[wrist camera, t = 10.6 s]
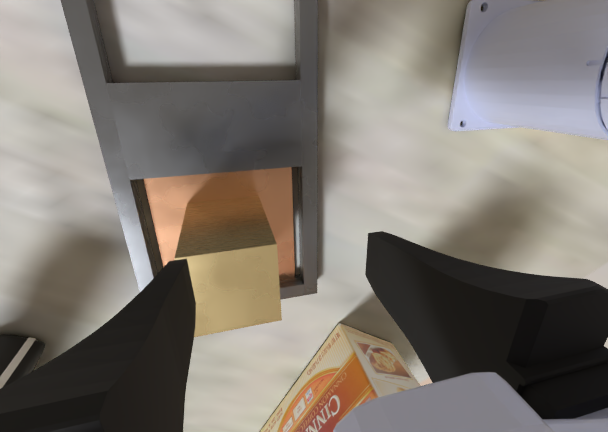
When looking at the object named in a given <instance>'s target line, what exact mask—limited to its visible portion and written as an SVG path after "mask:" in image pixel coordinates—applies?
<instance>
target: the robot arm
mask: <svg viewBox="0 0 608 432" xmlns="http://www.w3.org/2000/svg"><path fill="white" fill-rule="evenodd" d="M481 5H483V10H482V11H481ZM461 121H462V122H463V123H462V125H461V126H460V123H461ZM516 127H523V128H530V129H537V130H543V131H550V132H557V133H563V134H570V135H577V136H584V137H590V138H597V139H604V140H608V0H545V1H536V0H471V1H470V2H469V3H468V5H467V9H466V15H465V21H464V27H463V34H462V40H461V46H460V52H459V58H458V64H457V70H456V77H455V83H454V89H453V95H452V101H451V107H450V113H449V120H448V128H449V129H450V130H452V131H466V130H483V129H499V128H516ZM366 277H367V279H368V281H369V283H370V285H371V287H372V289H373V290H374V292H375V294H376V296H377V297H378V298H379V300H380V301H381V303H382V304H383V306H384V307H385V308H386V310H387V311H388V312H389V314H390V315H391V317H392V318H393V319H394V321H395V322H396V323H397V325H398V326H399V327H400V329H401V330H402V332H403V333H404V334H405V336H406V337H407V339H408V340H409V342H410V343H411V345H412V346H413V348H414V350H415V352H416V353H417V355H418V357H419V359H420V360H421V362H422V364H423V366H424V367H425V369H426V371H427V373H428V375H429V377H430V379H431V380H432V382H433V383H431V384H428V385H424V386H420V387H416V388H412V389H408V390H405V391H401V392H397V393H393V394H389V395H385V396H382V397H378V398H375V399H372V400H370V401H368V402H366V403H364V404H361V405H359V406H357V407H355V408H353V409H352V410H351V411H350V412H349V413H348V414H347V415H345V416H344V417H343V418H342V419H341V420H340V421H339V422H338V423H337V424H336V426H335V428H334V430H333V432H608V349H607V348H606V347H604V344H605V342H606V340H607V338H608V289H606V288H604V287H603V286H601V285H599V284H597V283H595V282H593V281H590V280H588V279H579V278H565V277H552V276H542V275H534V274H526V273H520V272H513V271H507V270H502V269H497V268H492V267H487V266H483V265H479V264H475V263H471V262H468V261H464V260H460V259H457V258H454V257H451V256H448V255H445V254H442V253H439V252H436V251H433V250H431V249H428V248H425V247H423V246H420V245H418V244H415V243H413V242H410V241H408V240H405V239H403V238H400V237H397V236H395V235H392V234H389V233H386V232H382V231H381V232H374V233H368V245H367V260H366ZM195 322H196V301H195V296H194V291H193V287H192V282H191V277H190V272H189V267H188V262H187V259H180V260H173V261H169V262H168V263H167V264H166V265H165V266H164V267H163V268H162V270H161V271H160V272H159V273H158V274H157V275H156V276H155V277H154V278H153V279H152V281H151V282H150V283H149V284H148V285H147V286H146V287H145V288H144V289H143V290H142V291H141V292H140V293H139V294H138V295H137V296H136V297H135V298H134V299H133V300H132V301H131V302H130V303H128V304H127V305H126V306H125V307H124V308H123V309H122V310H121V311H120V312H119V313H118V314H116V315H115V316H114V317H113V318H112V319H110V320H109V321H108V322H107V323H105V324H104V325H103V326H102V327H100V328H99V329H98V330H96V331H95V332H94V333H92V334H91V335H89V336H88V337H86V338H85V339H84V340H82V341H81V342H79V343H78V344H76V345H75V346H73V347H72V348H70V349H69V350H67V351H66V352H64V353H63V354H61V355H60V356H58V357H56V358H55V359H53V360H52V361H50V362H48V363H47V364H45V365H43V366H42V367H40V368H38V369H36V370H35V371H33V372H31V373H29V374H28V375H26V376H24V377H22V378H20V379H18V380H17V381H15V382H13V383H11V384H9V385H7V386H5V387H3V388H1V389H0V432H183V420H184V402H185V391H186V383H187V377H188V370H189V364H190V358H191V352H192V346H193V339H194V333H195Z"/></svg>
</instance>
